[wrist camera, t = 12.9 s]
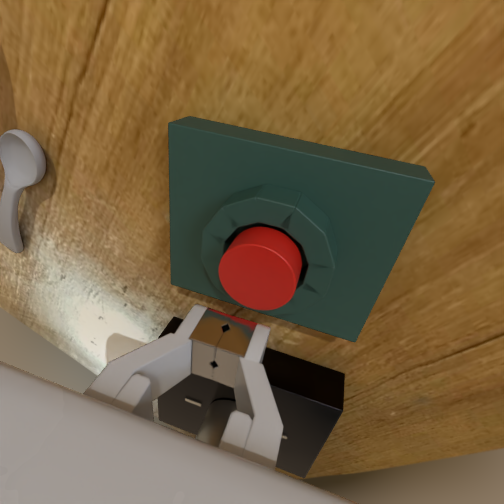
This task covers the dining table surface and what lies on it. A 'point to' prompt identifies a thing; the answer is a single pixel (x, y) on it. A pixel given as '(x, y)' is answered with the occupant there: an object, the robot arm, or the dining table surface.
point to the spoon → (17, 180)
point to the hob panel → (286, 397)
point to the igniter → (291, 216)
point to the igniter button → (261, 268)
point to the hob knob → (216, 421)
